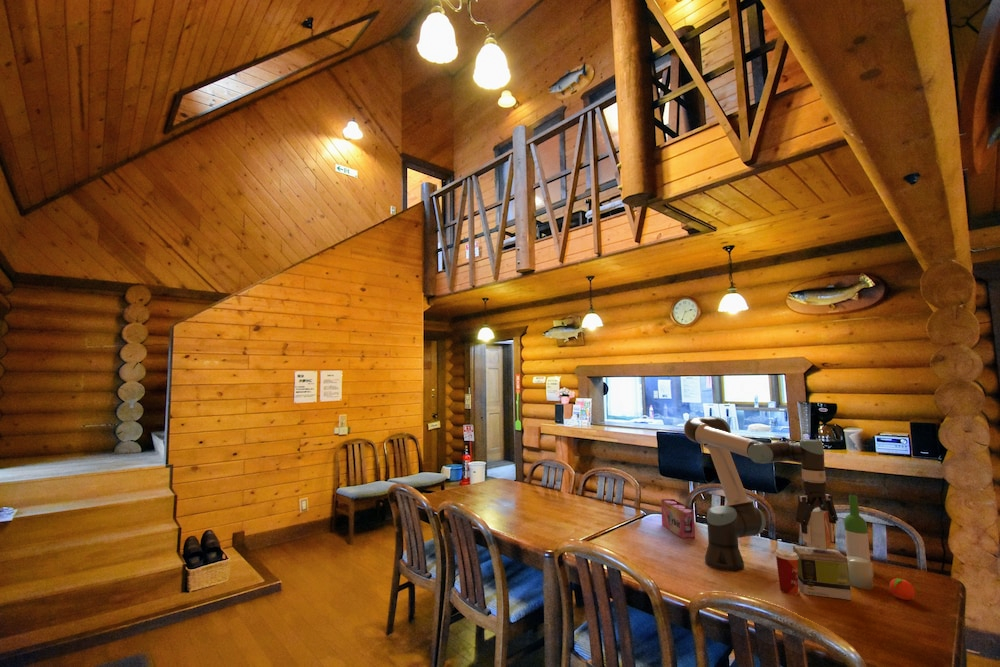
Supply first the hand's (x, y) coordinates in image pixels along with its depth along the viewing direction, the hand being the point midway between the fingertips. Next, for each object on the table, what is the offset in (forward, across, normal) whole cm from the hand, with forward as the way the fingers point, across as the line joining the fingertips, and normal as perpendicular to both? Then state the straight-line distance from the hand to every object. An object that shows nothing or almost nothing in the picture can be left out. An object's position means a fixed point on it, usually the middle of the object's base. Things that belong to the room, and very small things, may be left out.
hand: (818, 541), depth 169 cm
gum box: (+19, -10, +75) cm, 78 cm away
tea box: (+18, 0, 0) cm, 18 cm away
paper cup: (+18, -12, +3) cm, 22 cm away
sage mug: (+18, +21, +2) cm, 28 cm away
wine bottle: (+18, +35, +14) cm, 42 cm away
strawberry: (+18, +23, -11) cm, 31 cm away
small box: (+2, 0, 0) cm, 2 cm away
